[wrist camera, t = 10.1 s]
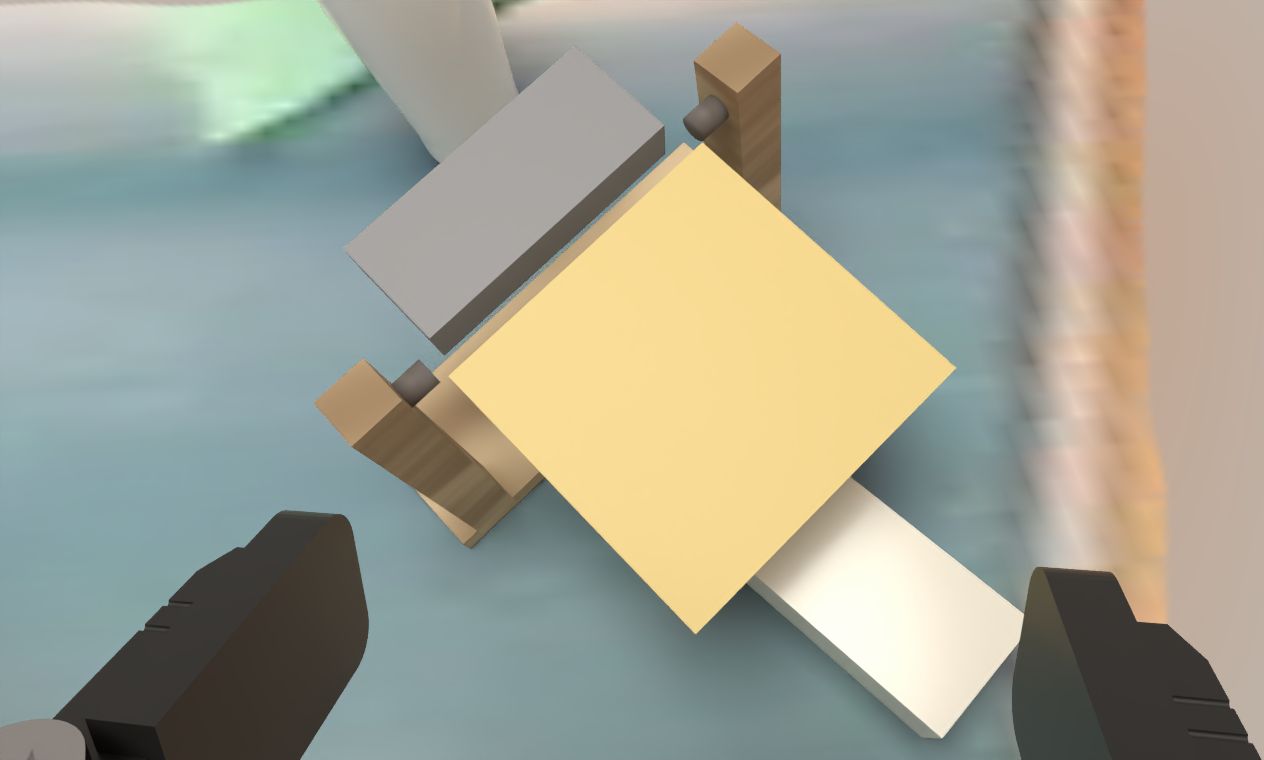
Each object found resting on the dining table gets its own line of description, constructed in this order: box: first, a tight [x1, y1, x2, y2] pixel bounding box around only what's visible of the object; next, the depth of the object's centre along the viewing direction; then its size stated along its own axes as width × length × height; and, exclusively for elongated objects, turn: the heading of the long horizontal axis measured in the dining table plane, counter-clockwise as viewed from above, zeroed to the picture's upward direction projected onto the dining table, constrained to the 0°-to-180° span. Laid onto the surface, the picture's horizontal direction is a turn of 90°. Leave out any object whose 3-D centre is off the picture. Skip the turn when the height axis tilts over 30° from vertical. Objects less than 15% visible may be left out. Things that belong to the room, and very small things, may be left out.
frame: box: [314, 22, 781, 548], centre depth 37 cm, size 7×20×14 cm, turn 134°
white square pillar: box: [746, 477, 1024, 739], centre depth 35 cm, size 5×5×10 cm
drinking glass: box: [316, 0, 519, 163], centre depth 41 cm, size 7×7×15 cm
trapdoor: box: [343, 46, 956, 634], centre depth 31 cm, size 17×11×2 cm
